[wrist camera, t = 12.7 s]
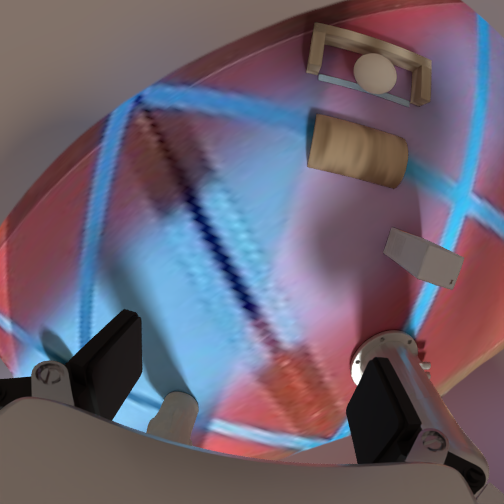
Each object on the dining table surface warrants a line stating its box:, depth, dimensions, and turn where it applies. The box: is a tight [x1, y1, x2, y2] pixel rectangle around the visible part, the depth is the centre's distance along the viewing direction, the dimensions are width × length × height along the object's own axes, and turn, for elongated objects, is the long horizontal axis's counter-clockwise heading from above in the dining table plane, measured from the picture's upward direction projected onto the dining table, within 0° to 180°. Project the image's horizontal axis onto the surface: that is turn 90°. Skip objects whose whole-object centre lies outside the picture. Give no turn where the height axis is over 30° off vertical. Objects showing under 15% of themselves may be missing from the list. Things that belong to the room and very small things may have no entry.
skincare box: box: [383, 227, 464, 290], centre depth 33 cm, size 6×4×12 cm
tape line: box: [318, 74, 410, 107], centre depth 34 cm, size 14×1×1 cm, turn 80°
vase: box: [146, 392, 199, 446], centre depth 35 cm, size 9×8×30 cm
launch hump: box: [307, 114, 408, 189], centre depth 37 cm, size 13×8×8 cm, turn 80°
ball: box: [354, 53, 397, 94], centre depth 30 cm, size 6×6×6 cm
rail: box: [306, 22, 431, 107], centre depth 31 cm, size 18×7×4 cm, turn 80°
